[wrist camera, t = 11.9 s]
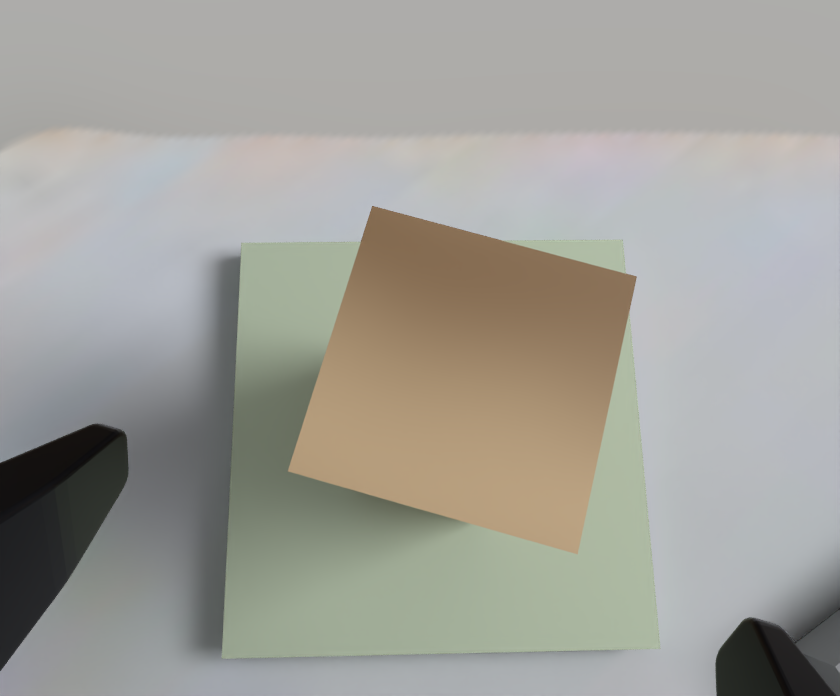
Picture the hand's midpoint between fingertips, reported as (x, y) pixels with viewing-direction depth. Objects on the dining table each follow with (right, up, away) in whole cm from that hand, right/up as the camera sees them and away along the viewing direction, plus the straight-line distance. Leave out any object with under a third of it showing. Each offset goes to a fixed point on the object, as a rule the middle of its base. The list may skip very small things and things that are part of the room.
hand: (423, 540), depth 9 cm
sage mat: (0, 0, +11) cm, 11 cm away
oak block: (0, 0, +10) cm, 10 cm away
